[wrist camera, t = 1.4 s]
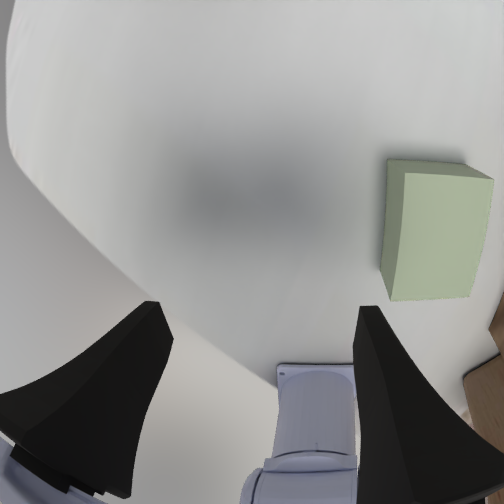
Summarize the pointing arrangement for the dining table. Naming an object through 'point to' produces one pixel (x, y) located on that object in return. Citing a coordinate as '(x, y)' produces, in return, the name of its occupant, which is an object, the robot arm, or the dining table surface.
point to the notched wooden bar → (498, 327)
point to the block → (488, 407)
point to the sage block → (433, 229)
